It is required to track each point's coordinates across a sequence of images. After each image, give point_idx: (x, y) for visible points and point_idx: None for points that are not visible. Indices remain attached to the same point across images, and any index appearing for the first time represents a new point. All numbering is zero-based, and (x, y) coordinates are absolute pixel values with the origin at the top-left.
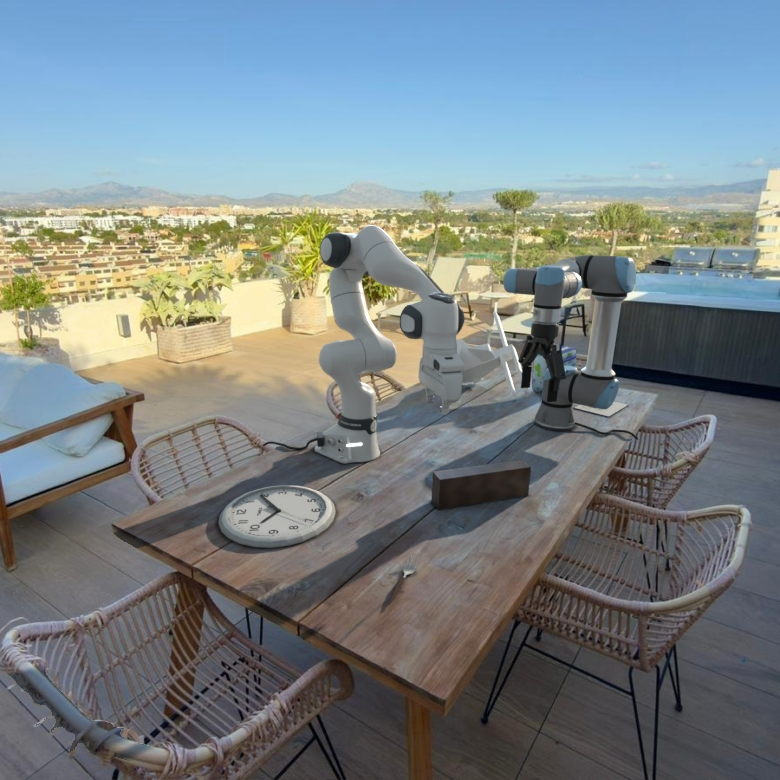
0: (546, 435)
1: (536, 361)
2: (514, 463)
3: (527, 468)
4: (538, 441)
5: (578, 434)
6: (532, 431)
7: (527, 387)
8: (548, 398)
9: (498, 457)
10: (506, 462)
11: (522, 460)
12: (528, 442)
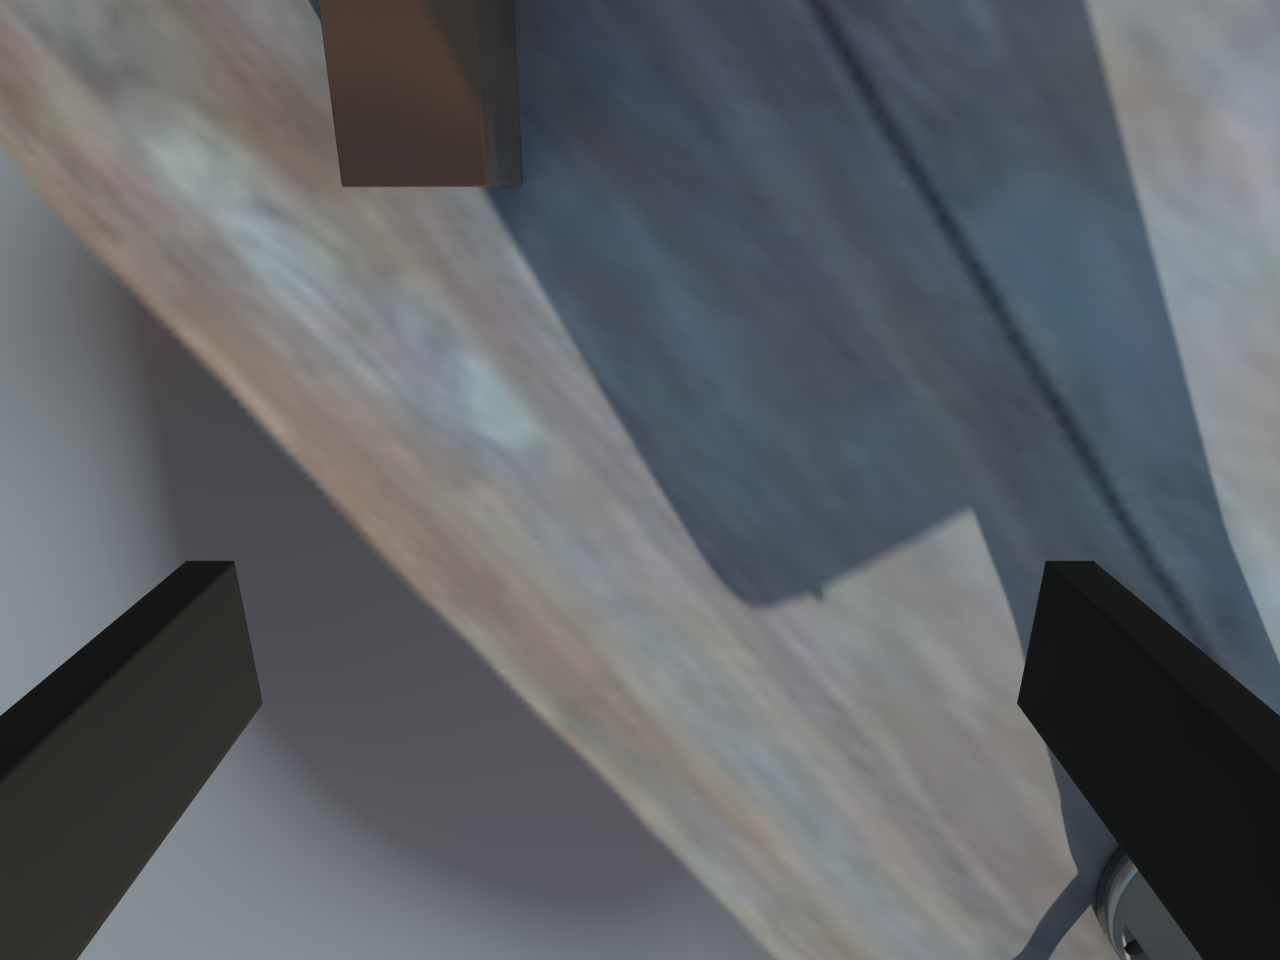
0: None
1: None
2: (428, 76)
3: (341, 150)
4: None
5: (1027, 911)
6: None
7: (1030, 667)
8: (155, 594)
9: (963, 293)
10: (459, 10)
11: (469, 183)
12: None
